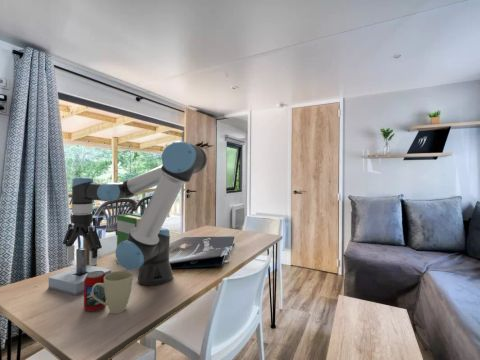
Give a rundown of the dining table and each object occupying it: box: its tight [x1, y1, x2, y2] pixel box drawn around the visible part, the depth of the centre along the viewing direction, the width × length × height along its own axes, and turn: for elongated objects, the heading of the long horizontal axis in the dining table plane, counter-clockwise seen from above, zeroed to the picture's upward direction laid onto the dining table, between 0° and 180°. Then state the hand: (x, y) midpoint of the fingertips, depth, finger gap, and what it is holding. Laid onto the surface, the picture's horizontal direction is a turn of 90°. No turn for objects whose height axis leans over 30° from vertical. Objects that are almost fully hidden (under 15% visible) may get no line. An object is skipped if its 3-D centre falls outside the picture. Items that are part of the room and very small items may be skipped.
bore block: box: [48, 265, 112, 297], centre depth 104 cm, size 16×16×4 cm
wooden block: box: [83, 233, 96, 267], centre depth 121 cm, size 4×11×18 cm, turn 17°
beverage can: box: [83, 271, 106, 312], centre depth 86 cm, size 7×7×12 cm
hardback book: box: [116, 213, 143, 247], centre depth 137 cm, size 18×7×24 cm, turn 55°
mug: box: [92, 270, 133, 314], centre depth 84 cm, size 11×10×12 cm
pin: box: [75, 247, 86, 276], centre depth 103 cm, size 4×4×14 cm
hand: (81, 263), depth 104 cm, fingers open, 13 cm apart
